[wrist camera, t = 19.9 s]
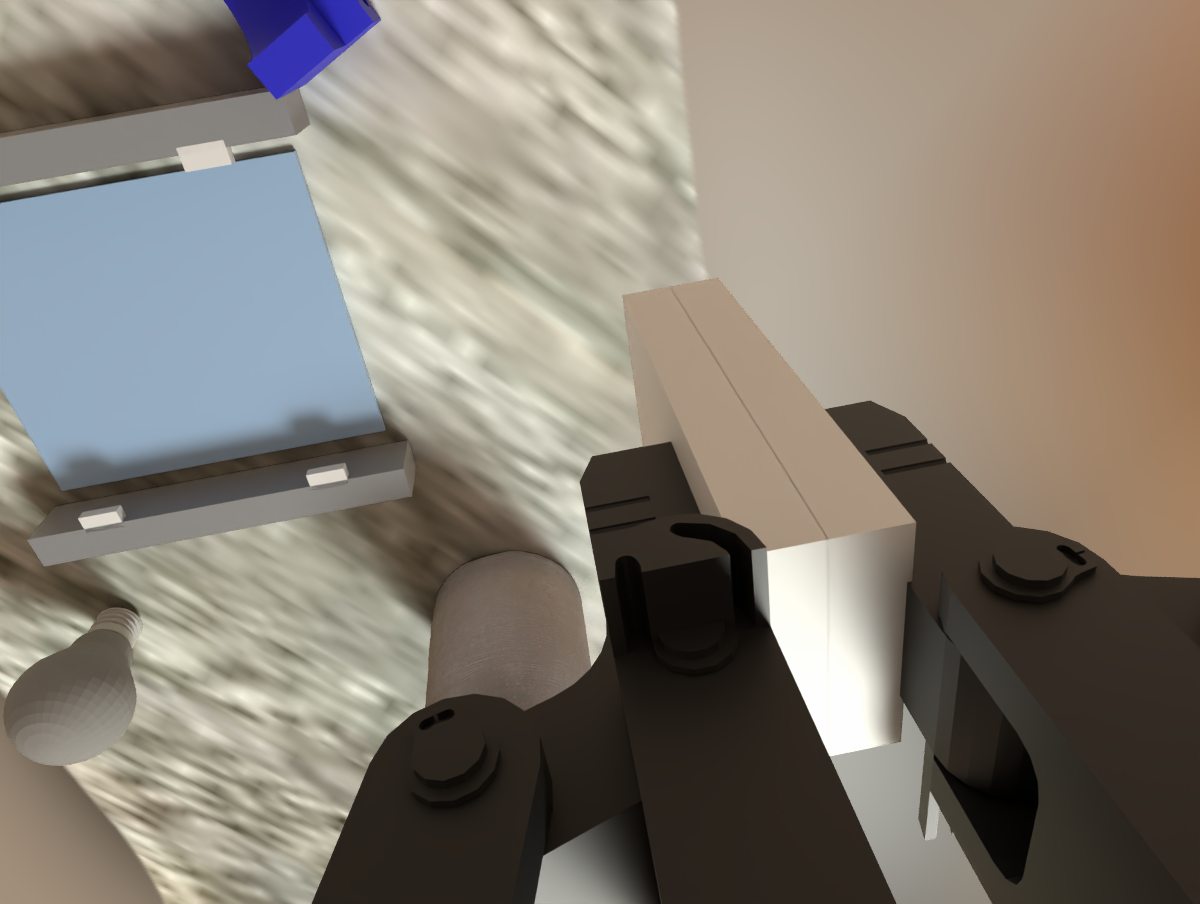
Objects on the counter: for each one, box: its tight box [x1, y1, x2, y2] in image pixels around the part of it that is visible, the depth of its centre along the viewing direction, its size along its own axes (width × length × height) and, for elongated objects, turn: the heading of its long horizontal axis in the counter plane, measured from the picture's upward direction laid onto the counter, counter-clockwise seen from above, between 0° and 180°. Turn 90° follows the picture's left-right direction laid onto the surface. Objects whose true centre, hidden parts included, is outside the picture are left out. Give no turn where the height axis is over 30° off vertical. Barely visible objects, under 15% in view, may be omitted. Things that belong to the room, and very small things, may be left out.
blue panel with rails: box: [0, 87, 416, 566], centre depth 40 cm, size 21×20×3 cm
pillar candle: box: [425, 551, 591, 711], centre depth 46 cm, size 10×10×15 cm
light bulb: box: [4, 607, 143, 766], centre depth 45 cm, size 6×6×10 cm
